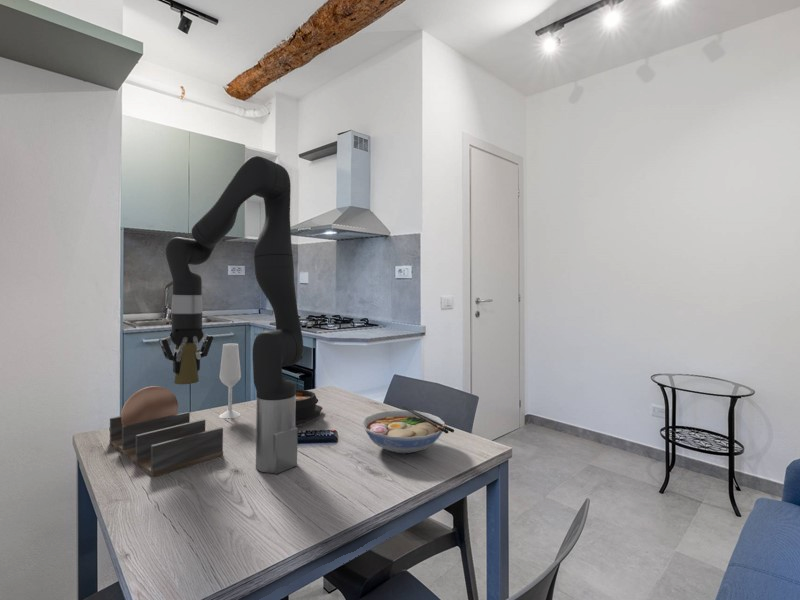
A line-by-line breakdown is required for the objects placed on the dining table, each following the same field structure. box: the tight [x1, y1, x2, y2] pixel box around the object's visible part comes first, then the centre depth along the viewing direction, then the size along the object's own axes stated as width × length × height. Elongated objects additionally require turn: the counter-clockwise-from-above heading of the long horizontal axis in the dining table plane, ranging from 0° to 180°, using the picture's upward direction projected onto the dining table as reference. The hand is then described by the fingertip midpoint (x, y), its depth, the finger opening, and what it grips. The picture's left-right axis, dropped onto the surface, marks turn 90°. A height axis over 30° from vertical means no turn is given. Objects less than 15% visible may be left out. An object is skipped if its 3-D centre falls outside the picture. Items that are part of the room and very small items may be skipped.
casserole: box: [295, 389, 323, 426], centre depth 134 cm, size 25×19×8 cm
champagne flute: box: [218, 342, 242, 420], centre depth 137 cm, size 7×7×24 cm
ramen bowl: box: [361, 406, 455, 455], centre depth 112 cm, size 25×23×8 cm
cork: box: [174, 343, 200, 385], centre depth 112 cm, size 6×6×11 cm
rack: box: [109, 385, 224, 478], centre depth 108 cm, size 30×16×15 cm, turn 51°
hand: (186, 373), depth 112 cm, fingers closed on cork, 3 cm apart
